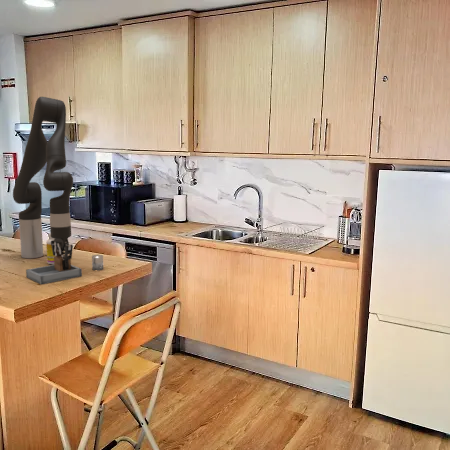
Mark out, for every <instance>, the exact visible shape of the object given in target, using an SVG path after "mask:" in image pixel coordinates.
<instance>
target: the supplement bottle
mask: <svg viewBox="0 0 450 450" xmlns="http://www.w3.org/2000/svg"><path fill="white" fill-rule="evenodd" d="M47 237H48V239H47V240H46V243H45V244H46V261H47V264H48V265H54V257H55V256H53V252H52V246H51V241H53V240H54V239H55V238H52V237H51V233H50V232H49V233H48V236H47Z"/></svg>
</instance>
